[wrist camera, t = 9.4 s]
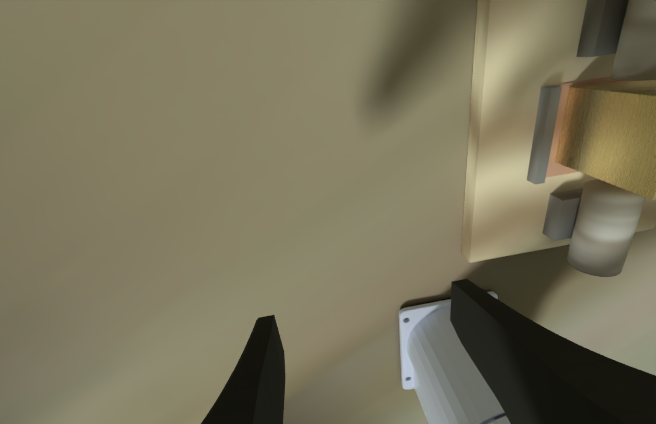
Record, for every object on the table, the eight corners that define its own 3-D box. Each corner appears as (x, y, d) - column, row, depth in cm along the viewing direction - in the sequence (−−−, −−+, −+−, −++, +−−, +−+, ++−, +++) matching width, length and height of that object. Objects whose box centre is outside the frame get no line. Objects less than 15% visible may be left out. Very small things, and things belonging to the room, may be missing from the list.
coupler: (614, 152, 20) (732, 186, 15) (554, 161, 20) (652, 200, 15) (635, 77, 18) (779, 85, 13) (569, 87, 18) (688, 99, 13)
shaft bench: (637, 221, 25) (717, 258, 20) (461, 253, 24) (502, 299, 19) (731, -58, 17) (893, -100, 13) (479, -24, 16) (553, -55, 12)
